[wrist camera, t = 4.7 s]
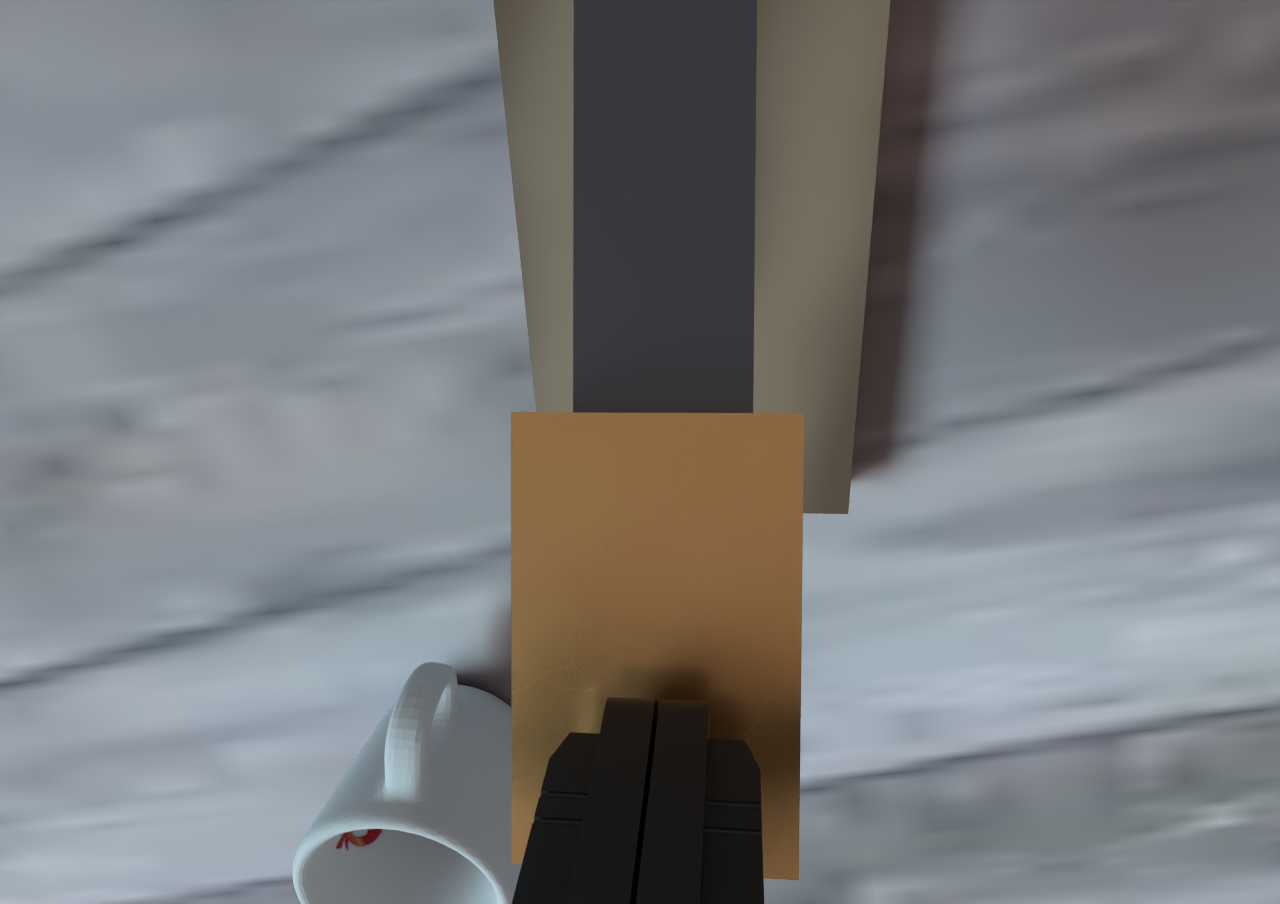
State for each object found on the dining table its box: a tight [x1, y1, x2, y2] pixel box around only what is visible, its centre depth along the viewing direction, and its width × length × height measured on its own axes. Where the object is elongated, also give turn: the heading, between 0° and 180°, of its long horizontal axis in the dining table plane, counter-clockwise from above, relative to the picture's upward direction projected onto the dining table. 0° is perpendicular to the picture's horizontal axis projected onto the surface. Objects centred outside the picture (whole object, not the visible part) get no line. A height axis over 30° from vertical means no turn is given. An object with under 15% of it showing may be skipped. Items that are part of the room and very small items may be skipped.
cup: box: [293, 662, 522, 904], centre depth 33 cm, size 11×8×8 cm
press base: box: [494, 0, 891, 514], centre depth 21 cm, size 10×26×8 cm, turn 2°
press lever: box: [511, 0, 804, 880], centre depth 14 cm, size 4×24×3 cm, turn 2°
